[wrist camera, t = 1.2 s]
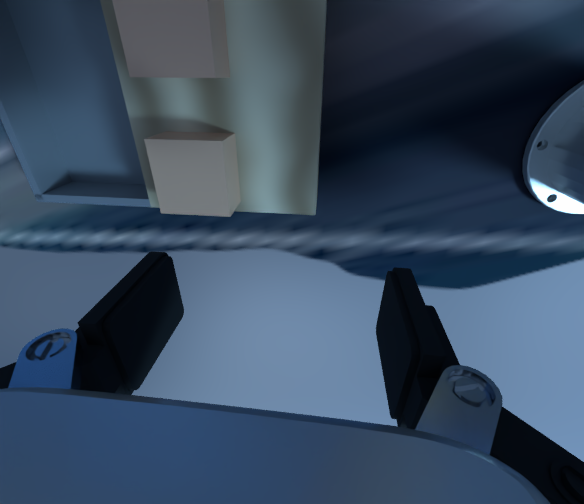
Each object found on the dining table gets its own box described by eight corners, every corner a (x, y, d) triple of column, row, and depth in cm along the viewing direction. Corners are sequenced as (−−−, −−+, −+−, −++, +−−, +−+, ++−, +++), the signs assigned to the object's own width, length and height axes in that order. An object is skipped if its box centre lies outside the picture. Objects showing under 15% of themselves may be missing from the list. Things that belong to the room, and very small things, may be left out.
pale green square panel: (328, -28, 23) (328, -51, 19) (317, 196, 32) (315, 215, 28) (131, -24, 25) (89, -44, 20) (173, 190, 34) (150, 207, 29)
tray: (131, -24, 25) (89, -44, 20) (173, 190, 34) (150, 207, 29) (-4, -21, 26) (-70, -40, 21) (73, 185, 35) (37, 201, 31)
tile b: (221, -28, 20) (202, -45, 17) (230, 77, 23) (215, 77, 20) (135, -26, 21) (102, -42, 18) (155, 76, 24) (129, 77, 21)
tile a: (234, 133, 25) (222, 141, 22) (240, 201, 28) (230, 216, 25) (165, 131, 26) (144, 138, 23) (178, 198, 29) (161, 213, 26)
